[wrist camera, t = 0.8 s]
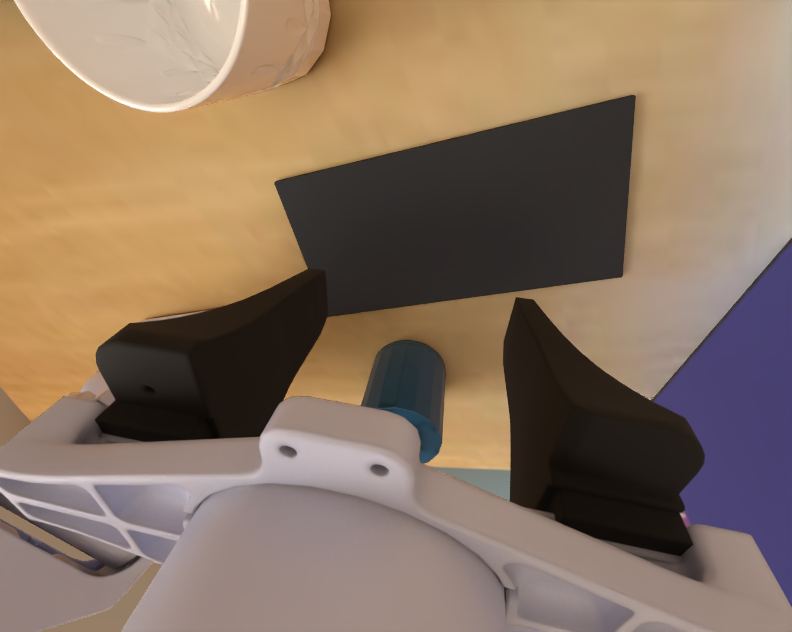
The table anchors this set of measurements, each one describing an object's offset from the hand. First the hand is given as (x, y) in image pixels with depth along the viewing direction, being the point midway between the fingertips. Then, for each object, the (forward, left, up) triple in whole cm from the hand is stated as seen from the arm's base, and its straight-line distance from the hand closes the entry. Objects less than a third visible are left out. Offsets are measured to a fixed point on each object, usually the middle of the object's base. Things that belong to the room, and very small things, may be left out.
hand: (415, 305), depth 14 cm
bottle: (-4, -12, -11) cm, 17 cm away
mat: (+1, -1, -11) cm, 11 cm away
